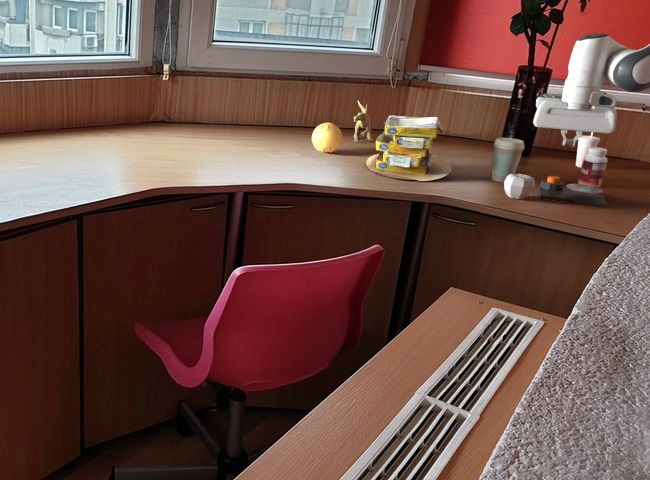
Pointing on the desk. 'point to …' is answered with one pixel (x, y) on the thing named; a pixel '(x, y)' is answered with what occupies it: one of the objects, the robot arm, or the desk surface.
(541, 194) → the scale
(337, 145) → the stress ball
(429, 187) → the desk surface
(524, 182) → the white faceted lump
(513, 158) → the coffee cup
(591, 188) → the scale pan
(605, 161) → the pill bottle
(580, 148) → the smoothie
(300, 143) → the desk surface
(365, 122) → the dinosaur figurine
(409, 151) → the stacked yellow boxes
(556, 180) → the tare button
